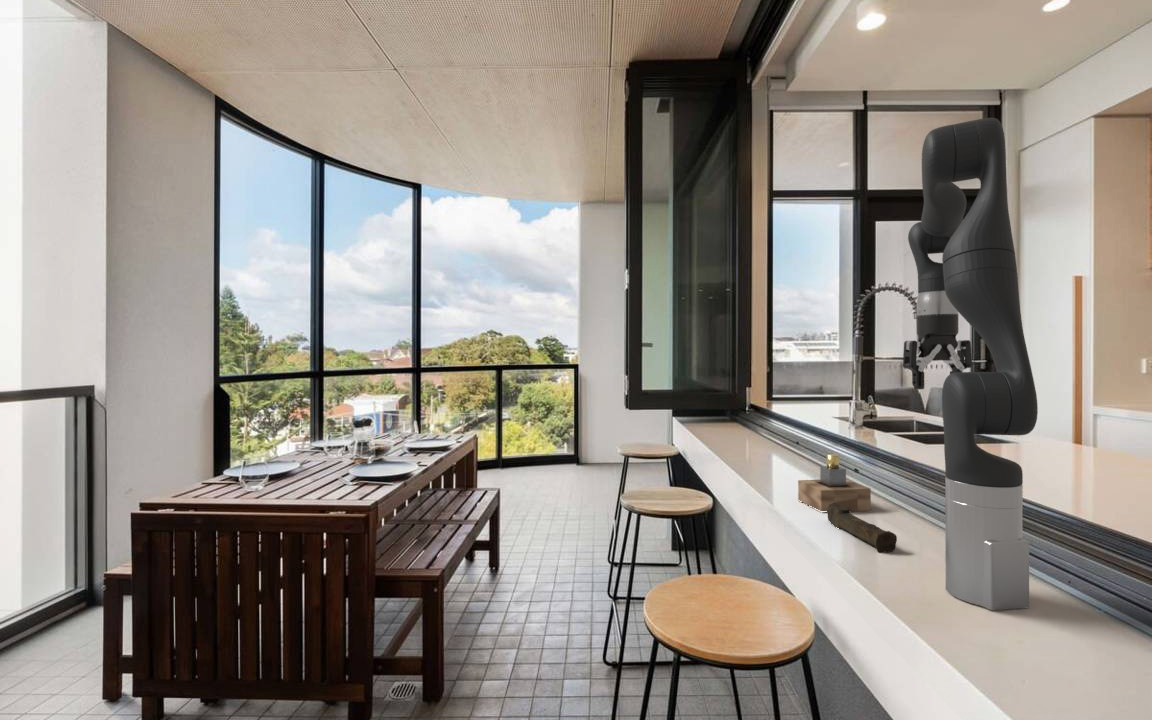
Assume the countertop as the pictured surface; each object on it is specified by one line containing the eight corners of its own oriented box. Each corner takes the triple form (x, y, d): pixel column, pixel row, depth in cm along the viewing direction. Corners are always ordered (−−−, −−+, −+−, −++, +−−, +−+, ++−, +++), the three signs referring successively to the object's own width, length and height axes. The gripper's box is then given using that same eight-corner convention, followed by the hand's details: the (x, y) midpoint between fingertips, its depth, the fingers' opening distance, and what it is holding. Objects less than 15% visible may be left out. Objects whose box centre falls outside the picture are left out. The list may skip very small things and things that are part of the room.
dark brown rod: (898, 553, 100) (898, 528, 100) (877, 554, 100) (877, 528, 100) (841, 522, 119) (841, 500, 119) (823, 522, 119) (823, 500, 119)
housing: (870, 510, 126) (870, 488, 126) (821, 512, 125) (821, 490, 125) (844, 498, 136) (844, 478, 136) (798, 500, 135) (798, 480, 135)
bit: (846, 507, 129) (845, 456, 128) (829, 508, 128) (829, 456, 128) (836, 503, 133) (836, 453, 132) (820, 503, 132) (820, 453, 132)
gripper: (919, 312, 114) (919, 390, 115) (982, 312, 116) (982, 389, 116) (894, 314, 122) (894, 388, 122) (953, 314, 123) (953, 387, 124)
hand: (937, 388), depth 119 cm, fingers open, 8 cm apart
